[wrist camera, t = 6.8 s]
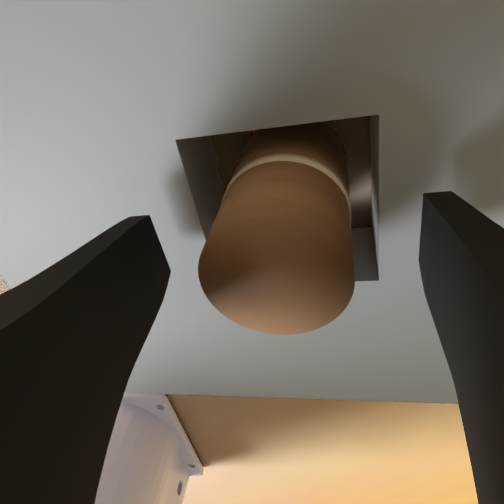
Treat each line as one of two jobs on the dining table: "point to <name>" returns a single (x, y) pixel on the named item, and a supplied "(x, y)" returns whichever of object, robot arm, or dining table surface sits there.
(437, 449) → the dining table surface
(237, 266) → the peg
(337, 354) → the board
